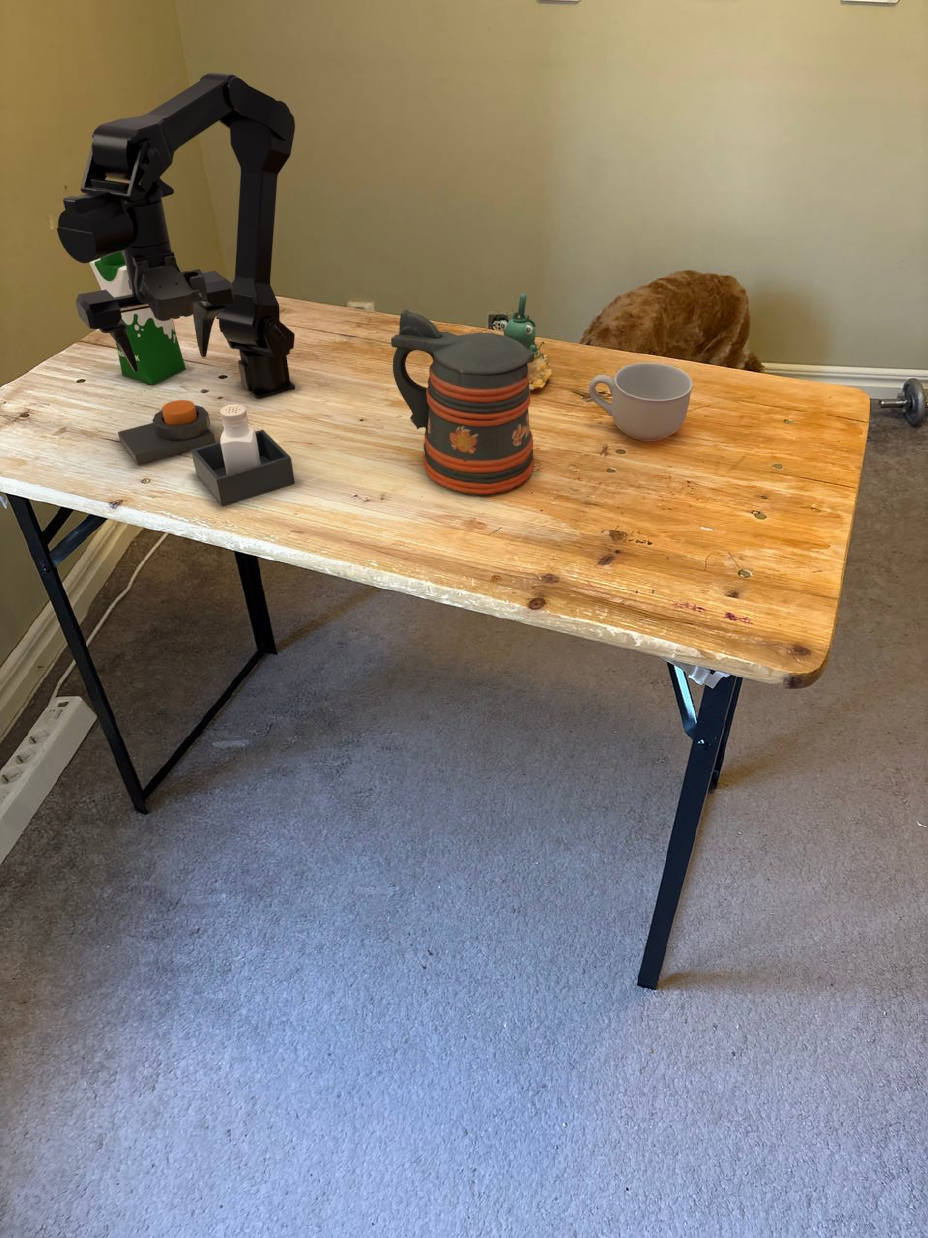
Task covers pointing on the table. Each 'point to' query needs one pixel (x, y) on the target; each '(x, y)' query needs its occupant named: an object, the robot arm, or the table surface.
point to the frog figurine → (527, 344)
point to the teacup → (646, 399)
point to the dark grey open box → (243, 471)
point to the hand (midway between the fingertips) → (170, 363)
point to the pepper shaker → (238, 440)
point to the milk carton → (141, 328)
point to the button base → (166, 438)
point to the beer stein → (468, 406)
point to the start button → (179, 412)
